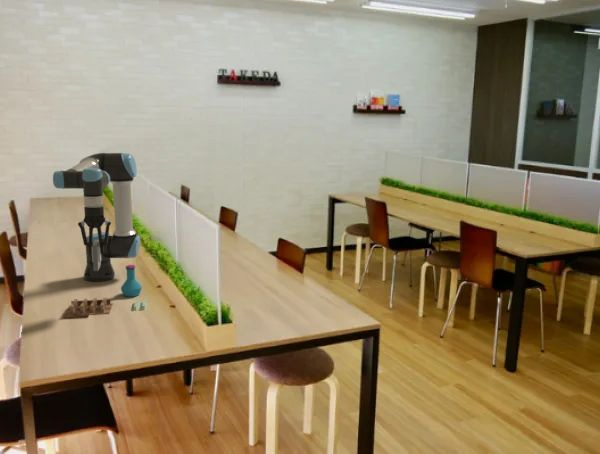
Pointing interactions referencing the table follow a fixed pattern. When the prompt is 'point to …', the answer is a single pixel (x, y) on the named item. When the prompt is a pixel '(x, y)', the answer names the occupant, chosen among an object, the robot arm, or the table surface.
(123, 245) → the robot arm
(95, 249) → the thick grey slab
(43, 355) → the table surface
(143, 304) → the stand
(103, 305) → the rack
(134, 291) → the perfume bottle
